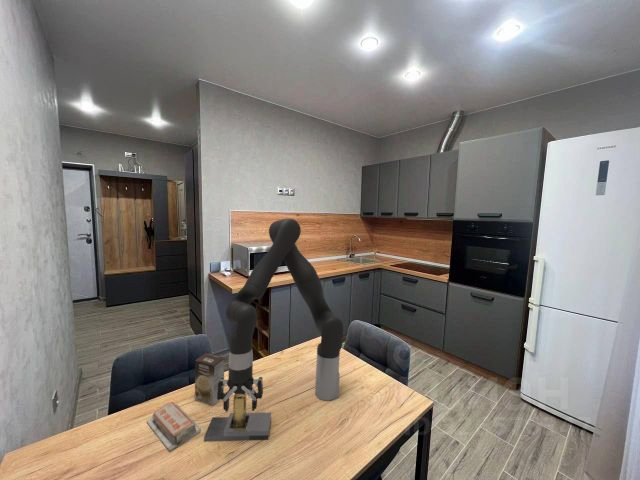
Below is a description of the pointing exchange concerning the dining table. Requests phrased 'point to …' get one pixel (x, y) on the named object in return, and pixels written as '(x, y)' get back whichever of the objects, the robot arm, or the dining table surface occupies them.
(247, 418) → the grey socket base
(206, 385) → the coffee box
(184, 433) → the packaged product
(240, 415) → the pin
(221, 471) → the dining table surface
